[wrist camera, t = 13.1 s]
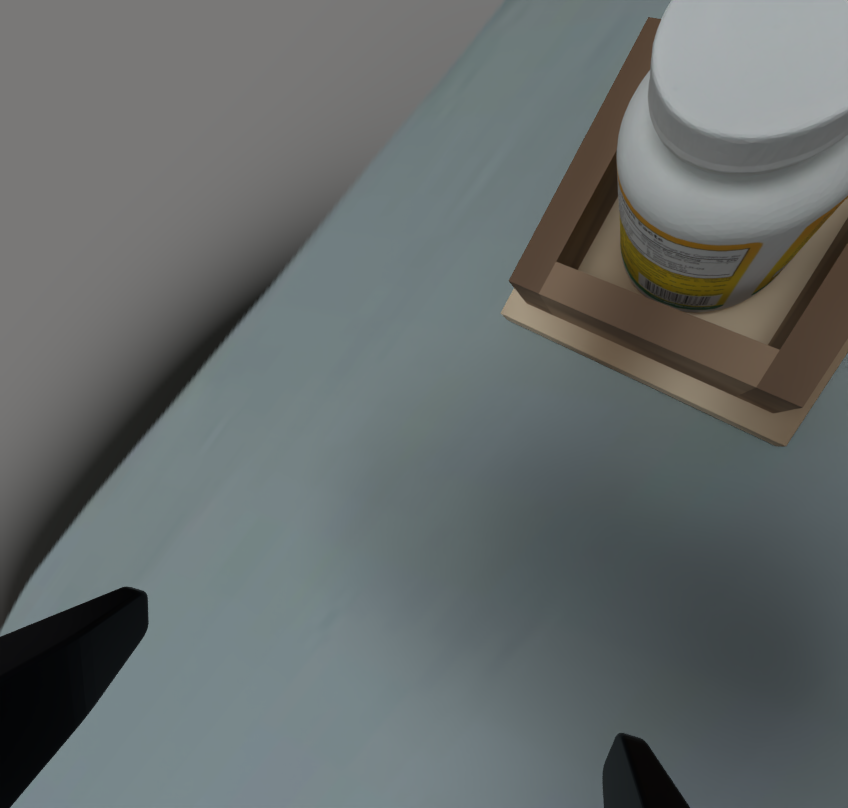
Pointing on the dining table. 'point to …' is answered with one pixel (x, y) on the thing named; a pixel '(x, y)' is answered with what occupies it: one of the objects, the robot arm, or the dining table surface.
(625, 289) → the socket board
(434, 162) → the dining table surface
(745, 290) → the supplement bottle
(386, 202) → the dining table surface
